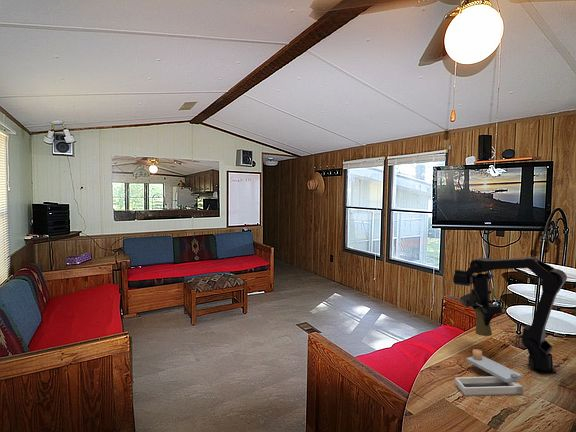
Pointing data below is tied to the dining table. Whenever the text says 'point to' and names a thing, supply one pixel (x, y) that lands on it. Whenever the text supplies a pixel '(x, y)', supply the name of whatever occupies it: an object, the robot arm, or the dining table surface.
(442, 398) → the dining table surface
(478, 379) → the white tray with rod
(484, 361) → the cover
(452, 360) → the dining table surface
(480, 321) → the olive brown bulbous cylinder
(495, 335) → the dining table surface
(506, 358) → the dining table surface
